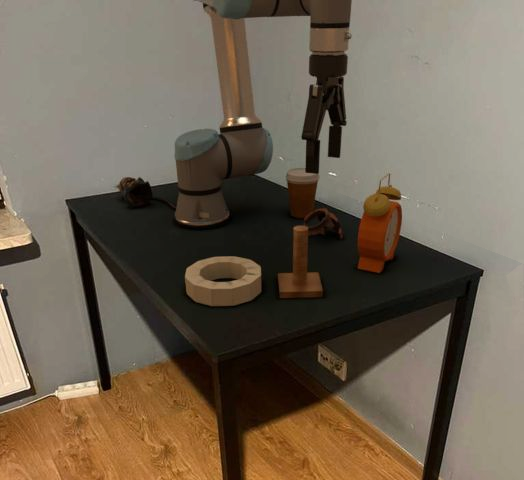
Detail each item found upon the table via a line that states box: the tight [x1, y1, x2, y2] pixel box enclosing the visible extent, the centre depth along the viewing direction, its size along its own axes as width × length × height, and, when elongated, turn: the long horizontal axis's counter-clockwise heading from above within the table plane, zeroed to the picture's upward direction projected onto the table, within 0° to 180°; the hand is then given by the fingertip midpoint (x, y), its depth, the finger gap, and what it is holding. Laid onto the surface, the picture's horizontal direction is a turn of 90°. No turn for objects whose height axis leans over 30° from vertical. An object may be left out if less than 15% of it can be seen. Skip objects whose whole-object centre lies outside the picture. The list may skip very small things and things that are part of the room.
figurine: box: [117, 176, 153, 209], centre depth 167 cm, size 9×8×15 cm
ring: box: [184, 255, 262, 307], centre depth 118 cm, size 16×16×4 cm
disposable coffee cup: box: [284, 167, 321, 219], centre depth 154 cm, size 10×10×12 cm
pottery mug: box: [302, 207, 343, 240], centre depth 142 cm, size 12×10×8 cm
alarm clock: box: [357, 173, 403, 274], centre depth 123 cm, size 13×6×20 cm, turn 151°
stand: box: [277, 225, 324, 299], centre depth 114 cm, size 9×9×14 cm
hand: (323, 164), depth 118 cm, fingers open, 13 cm apart
